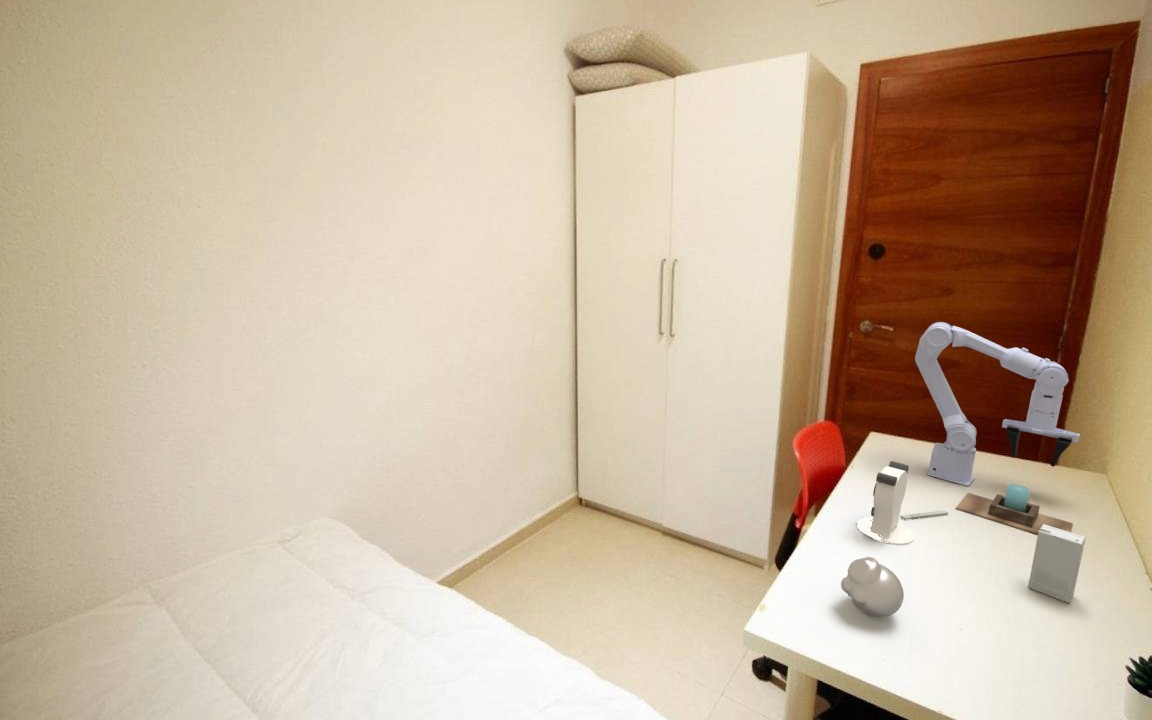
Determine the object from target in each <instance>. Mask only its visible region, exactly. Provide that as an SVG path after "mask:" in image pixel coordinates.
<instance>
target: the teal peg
mask: <svg viewBox="0 0 1152 720" xmlns="http://www.w3.org/2000/svg"><path fill="white" fill-rule="evenodd" d="M1030 494H1031V490H1030V489H1029V488H1027V487H1025V486H1022V485H1019V484H1014V483H1013V484H1012V483H1011V484H1008V485H1007V489H1006V493H1005V496H1006V497H1005V501H1004V505H1003V506H1004V507H1007V508H1010V509H1014V510H1017V511H1021V512H1024V513H1025V510H1026V506H1027V503H1029V498H1030Z"/></svg>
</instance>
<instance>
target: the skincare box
mask: <svg viewBox="0 0 1152 720" xmlns="http://www.w3.org/2000/svg"><path fill="white" fill-rule="evenodd" d="M1036 538H1037V539H1036V543H1035V548H1034V552H1033V553H1034V554H1033V559H1032V564H1031V570H1030V576H1029V580H1028V584H1027V587H1028V588H1029V589H1031V590H1034V591H1036V592H1040V593H1042V594H1045V595H1047V596H1050V597H1053V598H1056V599H1058V600H1060V601H1063V602H1066V603H1068V604H1071V602H1072V600H1073V597H1074V595H1075V590H1076V585H1077V582H1078V581H1077V580H1078V577H1079V571H1080V566H1081V561H1082V558H1083V557H1082V556H1083V553H1084V546H1085V544H1086V536H1083V535H1080V534H1078V533H1077V534H1076V533H1073V532H1072V531H1070V532H1068V531H1064V530H1061V529H1058V528H1055V527H1051V526H1048V525H1045V524H1043V525H1042V527H1041V528H1040V530H1039V531H1038V535H1037V537H1036Z"/></svg>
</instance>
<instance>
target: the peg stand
mask: <svg viewBox="0 0 1152 720" xmlns="http://www.w3.org/2000/svg"><path fill="white" fill-rule="evenodd" d="M1005 497H1006V495H1001V494H998V493H997V494H996V495H995V497H994V498H993V499H991V498H987V497H984V496H980V495H978V494H974V493H970V492H967V493H966V494H965V496H963V498H962V499H961V500H960V502H959V503H958V504H957V505H956V507H955V510H957V511H960V512H962V513H963V512H964V513H966V514H970V515H973V516H976V517H980V518H982V519H986V520H989V521H992V522H995V523H999V524H1002V525H1005V526H1008V527H1010V528H1014V529H1017V530H1021V531H1024V532H1028V533H1030V534H1033V535H1036V536H1038V531H1039V530H1040V528H1041V527H1042V525H1043V524H1045V525H1048V526H1051V527H1055V528H1058V529H1061V530H1064V531H1068V532H1072V531H1071V530H1072V528H1073V522H1070V521H1066V520H1063V519H1060V518H1056V517H1053V516H1049V515H1047V514H1042V513H1040V512H1039V511H1040V505H1037V504H1034V503H1029V502H1027V506H1026V510H1025V513H1024V512H1021V511H1017V510H1014V509H1010V508H1007V507H1004V506H1003V505H1004V501H1005Z"/></svg>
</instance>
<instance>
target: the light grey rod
mask: <svg viewBox="0 0 1152 720" xmlns="http://www.w3.org/2000/svg"><path fill="white" fill-rule="evenodd" d="M948 515H949V512H948V511H947V510H945V509H942V510H936V511H935V510H934V511H928V512H927V511H926V512H920V513H912V514H911V513H910V514H904V515H900V517H901V518H902V519H901V518H900V519H901V520H903V519H904V520H903V521H907V520H906V519H912V520H918V519H919V518H920V519H927V518H935V517H944V516H948ZM920 519H919V520H920Z"/></svg>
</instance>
